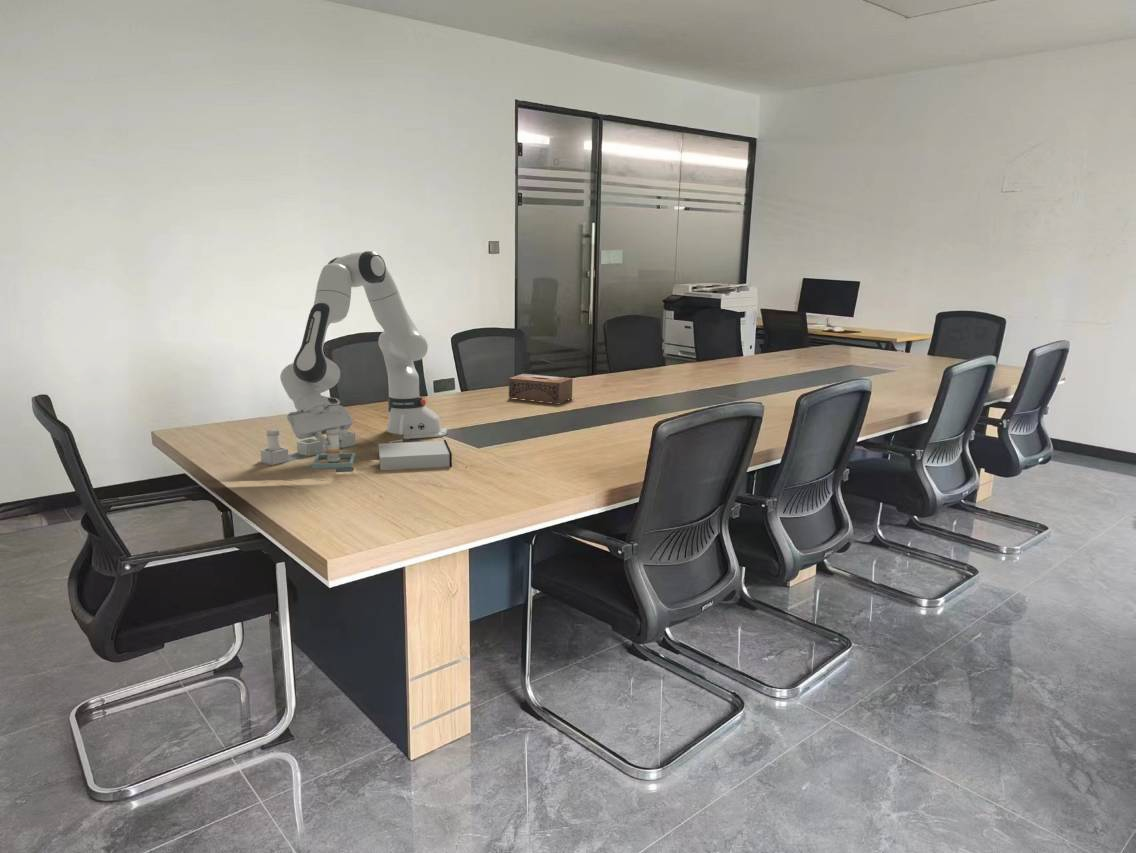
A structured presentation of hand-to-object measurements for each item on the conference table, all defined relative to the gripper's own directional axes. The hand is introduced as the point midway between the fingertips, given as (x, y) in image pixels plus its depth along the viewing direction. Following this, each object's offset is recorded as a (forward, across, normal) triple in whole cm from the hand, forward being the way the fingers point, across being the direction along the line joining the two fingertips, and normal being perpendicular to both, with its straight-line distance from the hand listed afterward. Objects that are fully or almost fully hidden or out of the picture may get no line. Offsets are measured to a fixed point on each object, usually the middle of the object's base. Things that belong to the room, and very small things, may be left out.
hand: (334, 443), depth 245 cm
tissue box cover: (-7, +132, +18) cm, 133 cm away
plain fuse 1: (-7, -11, +16) cm, 20 cm away
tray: (+5, 0, +6) cm, 8 cm away
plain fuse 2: (-7, +16, +16) cm, 24 cm away
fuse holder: (-6, +3, +17) cm, 18 cm away
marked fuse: (+4, 0, +5) cm, 6 cm away
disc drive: (+16, +21, -4) cm, 27 cm away
